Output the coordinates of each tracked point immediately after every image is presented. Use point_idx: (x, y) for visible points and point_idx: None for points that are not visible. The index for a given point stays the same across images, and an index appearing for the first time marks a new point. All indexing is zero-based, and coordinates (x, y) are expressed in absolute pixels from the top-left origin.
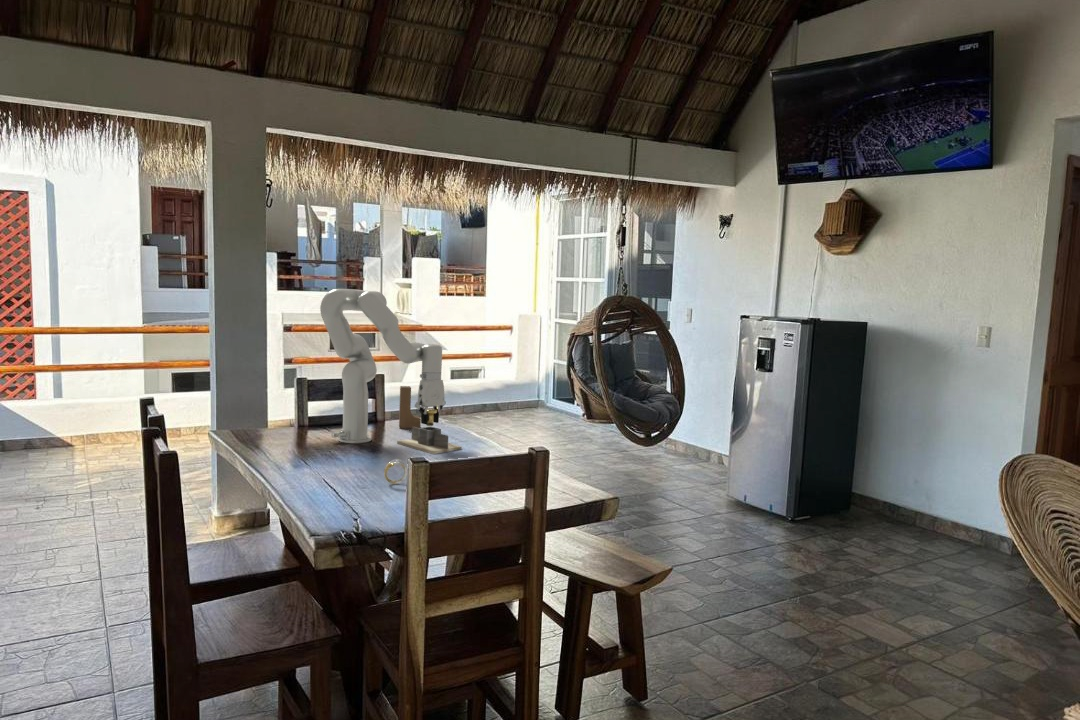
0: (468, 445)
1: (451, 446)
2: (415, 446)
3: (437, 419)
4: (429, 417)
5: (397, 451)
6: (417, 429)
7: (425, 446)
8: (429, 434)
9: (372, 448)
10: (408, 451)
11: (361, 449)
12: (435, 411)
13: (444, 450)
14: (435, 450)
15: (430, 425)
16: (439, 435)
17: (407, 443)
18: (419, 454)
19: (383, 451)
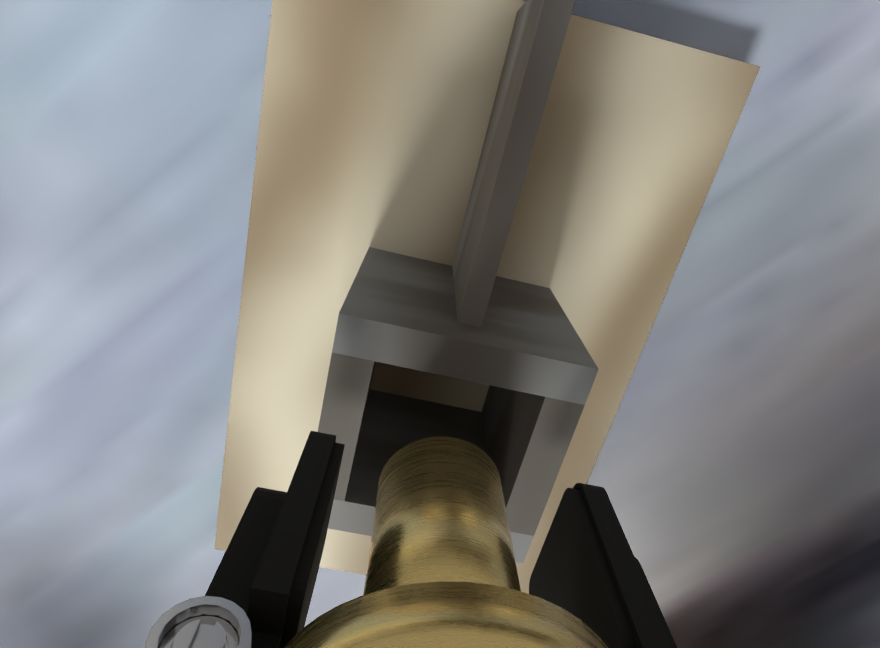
0: (52, 12)
1: (374, 61)
2: (629, 379)
3: (323, 477)
4: (516, 582)
5: (800, 422)
6: None
7: (576, 302)
8: (565, 339)
9: (794, 608)
10: (751, 353)
11: (863, 636)
12: (458, 631)
13: (581, 20)
14: (696, 81)
15: (484, 453)
16: (514, 198)
17: None
18: (824, 188)
19: (855, 500)
